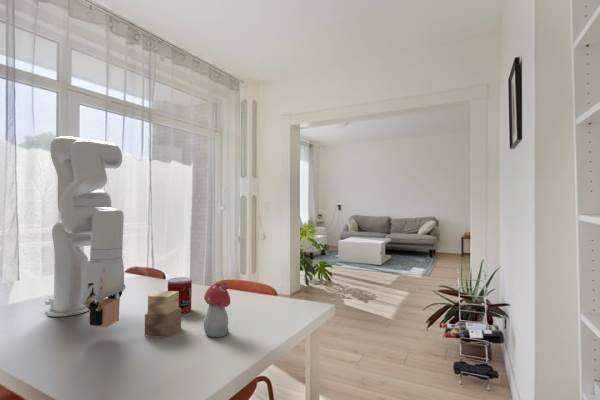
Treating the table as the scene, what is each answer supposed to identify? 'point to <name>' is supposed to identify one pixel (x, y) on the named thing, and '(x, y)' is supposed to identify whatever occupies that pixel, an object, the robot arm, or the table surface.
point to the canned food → (182, 291)
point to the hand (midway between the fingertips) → (104, 320)
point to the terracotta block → (108, 312)
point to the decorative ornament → (216, 310)
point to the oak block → (163, 302)
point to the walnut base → (162, 324)
